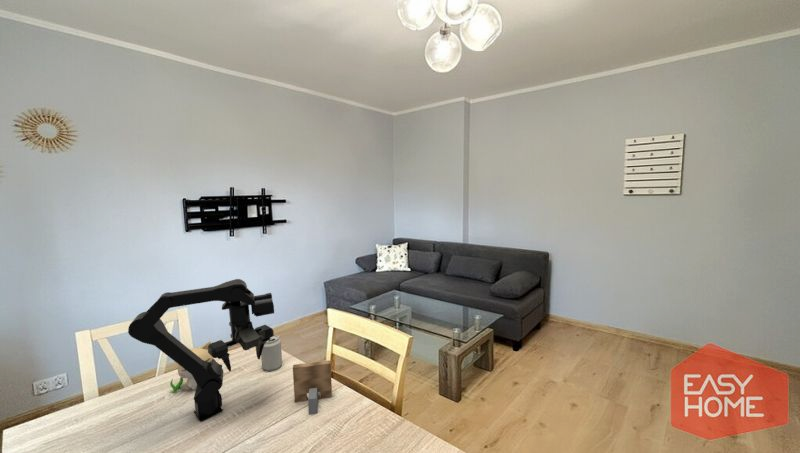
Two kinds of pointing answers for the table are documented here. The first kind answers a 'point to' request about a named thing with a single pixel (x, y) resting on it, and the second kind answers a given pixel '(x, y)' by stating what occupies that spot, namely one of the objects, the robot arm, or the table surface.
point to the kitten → (183, 373)
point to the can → (272, 354)
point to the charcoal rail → (313, 400)
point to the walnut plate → (312, 379)
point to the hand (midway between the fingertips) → (244, 364)
